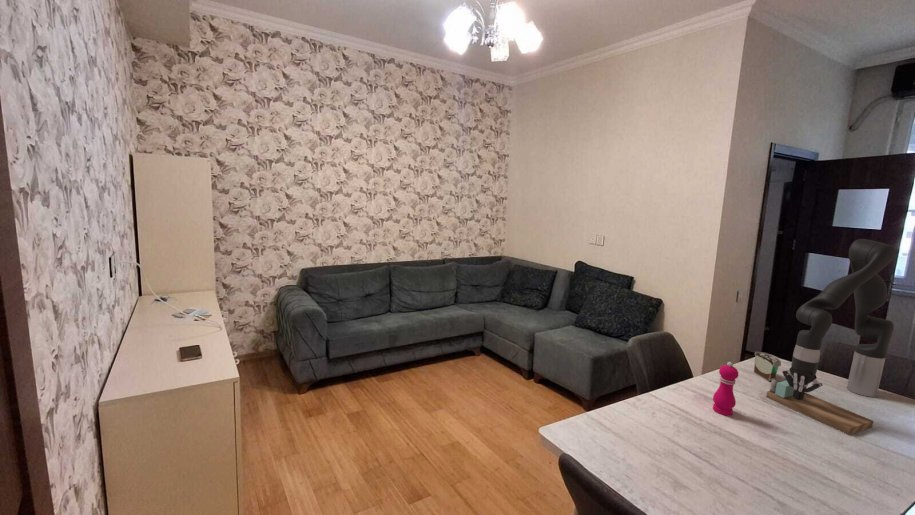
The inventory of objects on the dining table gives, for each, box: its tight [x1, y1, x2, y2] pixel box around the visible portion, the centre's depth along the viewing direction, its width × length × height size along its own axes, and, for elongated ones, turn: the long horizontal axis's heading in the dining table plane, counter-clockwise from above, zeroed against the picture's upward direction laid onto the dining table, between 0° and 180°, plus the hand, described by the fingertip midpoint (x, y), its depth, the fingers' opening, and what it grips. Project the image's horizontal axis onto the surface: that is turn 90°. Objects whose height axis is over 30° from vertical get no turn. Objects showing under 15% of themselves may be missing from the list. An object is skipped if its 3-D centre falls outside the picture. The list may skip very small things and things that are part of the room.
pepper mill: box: [712, 361, 739, 417], centre depth 150 cm, size 7×7×20 cm
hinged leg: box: [775, 378, 794, 398], centre depth 162 cm, size 14×4×5 cm, turn 114°
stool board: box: [765, 379, 875, 436], centre depth 154 cm, size 15×27×8 cm, turn 21°
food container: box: [753, 351, 782, 383], centre depth 182 cm, size 12×6×10 cm, turn 179°
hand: (797, 399), depth 156 cm, fingers closed
